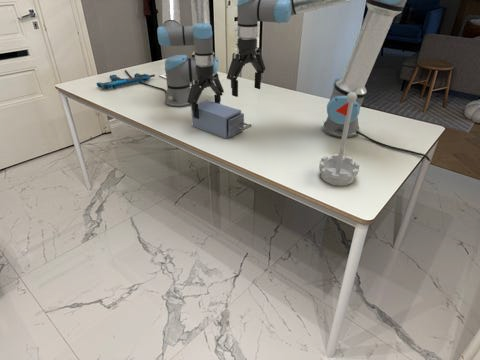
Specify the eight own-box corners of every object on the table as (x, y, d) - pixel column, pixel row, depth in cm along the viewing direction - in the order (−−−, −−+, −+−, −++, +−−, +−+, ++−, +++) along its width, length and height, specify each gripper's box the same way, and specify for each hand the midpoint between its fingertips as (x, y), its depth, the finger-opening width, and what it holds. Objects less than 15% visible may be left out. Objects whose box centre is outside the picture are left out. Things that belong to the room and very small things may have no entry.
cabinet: (241, 130, 150) (241, 110, 145) (226, 138, 143) (225, 117, 138) (208, 119, 161) (207, 99, 156) (192, 126, 154) (190, 106, 149)
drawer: (254, 134, 145) (254, 117, 141) (240, 141, 139) (240, 124, 135) (212, 119, 158) (211, 103, 154) (198, 125, 152) (197, 109, 148)
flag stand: (341, 164, 125) (356, 83, 108) (364, 182, 115) (385, 96, 98) (310, 171, 121) (321, 88, 105) (331, 190, 111) (347, 102, 94)
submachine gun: (140, 68, 226) (159, 74, 209) (142, 73, 228) (160, 80, 211) (89, 77, 207) (104, 85, 190) (90, 84, 209) (106, 92, 192)
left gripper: (218, 57, 150) (219, 103, 162) (175, 69, 134) (180, 119, 146) (231, 60, 146) (231, 107, 158) (188, 72, 130) (192, 124, 142)
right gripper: (261, 32, 139) (259, 83, 151) (216, 40, 124) (218, 97, 136) (275, 34, 135) (272, 87, 146) (230, 44, 120) (231, 101, 131)
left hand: (207, 113), depth 152 cm, fingers open, 13 cm apart
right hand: (246, 92), depth 141 cm, fingers open, 13 cm apart
